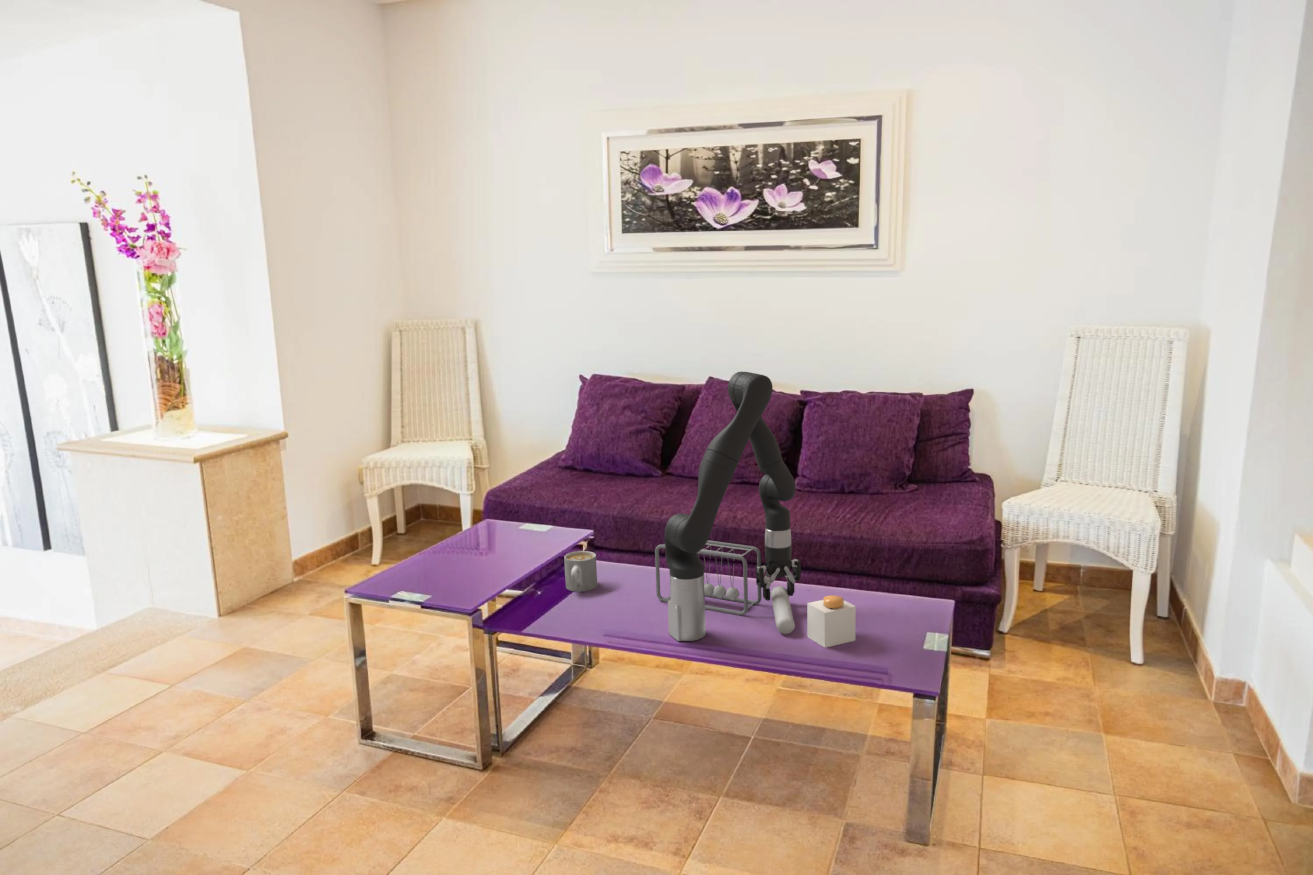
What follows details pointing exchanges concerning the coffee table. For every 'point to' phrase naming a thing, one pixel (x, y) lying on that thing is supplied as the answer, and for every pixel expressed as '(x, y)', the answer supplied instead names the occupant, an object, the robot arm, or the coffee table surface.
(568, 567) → the coffee mug
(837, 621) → the housing
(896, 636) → the coffee table surface
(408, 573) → the coffee table surface
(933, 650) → the coffee table surface
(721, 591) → the newton's cradle
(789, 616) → the tube
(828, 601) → the orange rounded lump
